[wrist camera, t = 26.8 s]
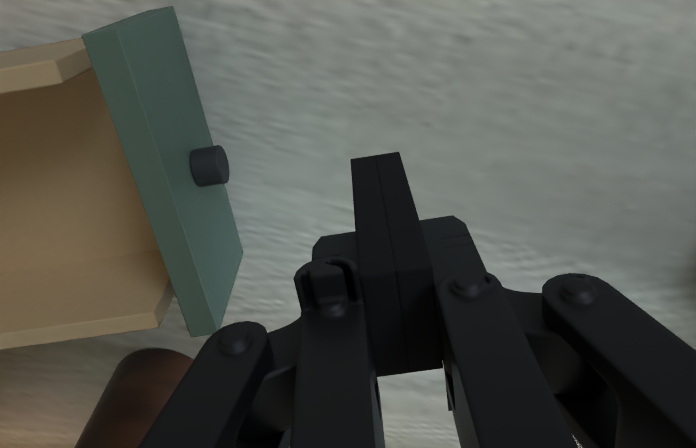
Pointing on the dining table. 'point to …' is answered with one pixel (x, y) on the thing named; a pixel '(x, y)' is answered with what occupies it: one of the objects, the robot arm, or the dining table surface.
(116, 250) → the drawer
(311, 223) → the dining table surface
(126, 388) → the pepper mill
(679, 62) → the dining table surface
